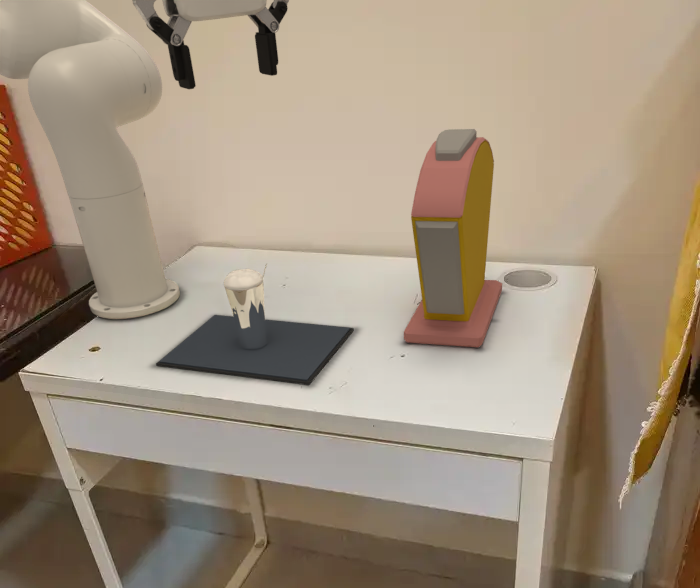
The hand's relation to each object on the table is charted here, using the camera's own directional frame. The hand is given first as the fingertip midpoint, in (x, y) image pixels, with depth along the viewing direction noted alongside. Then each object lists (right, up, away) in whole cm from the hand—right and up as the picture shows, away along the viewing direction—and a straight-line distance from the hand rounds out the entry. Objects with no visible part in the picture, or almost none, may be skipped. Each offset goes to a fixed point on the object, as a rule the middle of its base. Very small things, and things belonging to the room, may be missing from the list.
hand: (229, 80), depth 78 cm
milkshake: (+2, -27, +9) cm, 29 cm away
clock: (+26, -23, +12) cm, 37 cm away
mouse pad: (+2, -28, +9) cm, 29 cm away
